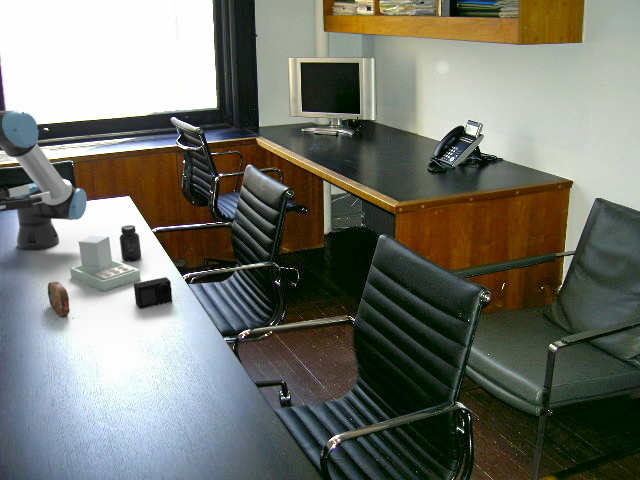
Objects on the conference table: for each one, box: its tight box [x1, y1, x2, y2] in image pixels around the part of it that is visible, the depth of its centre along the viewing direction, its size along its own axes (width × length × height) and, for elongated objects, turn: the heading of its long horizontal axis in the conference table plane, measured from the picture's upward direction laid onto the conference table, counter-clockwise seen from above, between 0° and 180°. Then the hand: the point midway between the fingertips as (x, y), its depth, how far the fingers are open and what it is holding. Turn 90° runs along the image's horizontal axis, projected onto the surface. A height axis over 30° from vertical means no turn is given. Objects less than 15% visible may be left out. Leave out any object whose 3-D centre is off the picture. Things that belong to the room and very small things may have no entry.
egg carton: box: [95, 265, 134, 281], centre depth 259 cm, size 6×11×4 cm, turn 137°
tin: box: [47, 281, 70, 317], centre depth 237 cm, size 15×3×8 cm, turn 33°
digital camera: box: [133, 276, 173, 310], centre depth 241 cm, size 10×5×7 cm, turn 119°
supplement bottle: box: [119, 224, 142, 263], centre depth 280 cm, size 7×7×12 cm
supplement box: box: [78, 234, 113, 277], centre depth 264 cm, size 7×7×13 cm
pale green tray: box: [69, 258, 142, 293], centre depth 263 cm, size 20×14×4 cm
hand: (39, 192), depth 250 cm, fingers open, 13 cm apart
